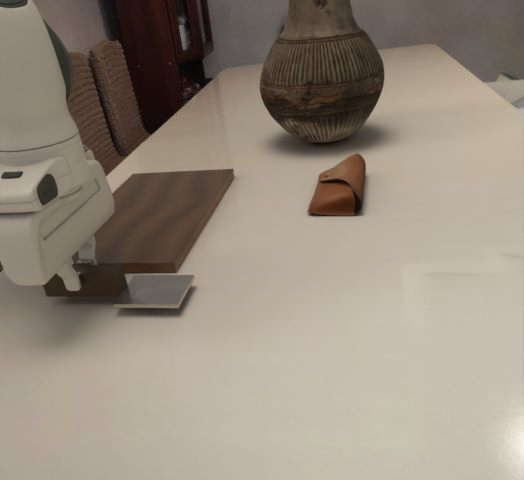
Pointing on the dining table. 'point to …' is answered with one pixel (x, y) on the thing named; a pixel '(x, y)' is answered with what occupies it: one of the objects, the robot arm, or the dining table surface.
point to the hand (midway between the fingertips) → (83, 280)
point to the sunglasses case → (340, 188)
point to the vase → (321, 72)
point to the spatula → (124, 287)
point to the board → (158, 219)
